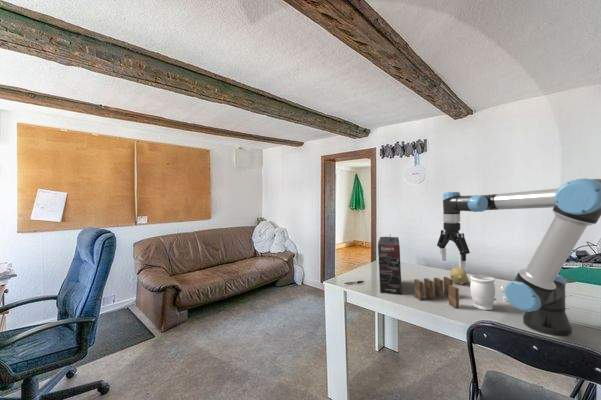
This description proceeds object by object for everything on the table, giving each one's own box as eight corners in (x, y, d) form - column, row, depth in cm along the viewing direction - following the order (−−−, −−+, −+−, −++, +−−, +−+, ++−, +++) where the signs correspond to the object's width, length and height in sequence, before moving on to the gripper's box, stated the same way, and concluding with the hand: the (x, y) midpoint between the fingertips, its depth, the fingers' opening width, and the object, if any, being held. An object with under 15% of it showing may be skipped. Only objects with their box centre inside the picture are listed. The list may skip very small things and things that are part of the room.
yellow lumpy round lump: (468, 290, 167) (474, 277, 171) (462, 279, 162) (468, 265, 166) (451, 286, 175) (457, 273, 179) (445, 275, 170) (452, 262, 174)
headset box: (401, 295, 154) (400, 237, 154) (378, 293, 158) (377, 237, 158) (400, 281, 177) (399, 232, 177) (380, 280, 182) (379, 231, 181)
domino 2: (427, 295, 152) (427, 278, 151) (433, 299, 147) (432, 281, 146) (424, 296, 151) (424, 278, 151) (430, 299, 146) (429, 281, 146)
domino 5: (451, 304, 139) (451, 285, 139) (459, 308, 135) (458, 288, 134) (448, 304, 139) (448, 285, 139) (455, 308, 134) (455, 288, 134)
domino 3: (437, 295, 152) (436, 277, 152) (443, 298, 148) (442, 280, 147) (434, 295, 152) (433, 277, 152) (440, 298, 147) (439, 280, 147)
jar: (472, 301, 142) (471, 273, 142) (496, 305, 136) (495, 276, 135) (469, 308, 134) (468, 278, 134) (494, 313, 127) (494, 281, 127)
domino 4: (446, 294, 153) (446, 276, 153) (453, 297, 148) (452, 279, 148) (444, 294, 153) (443, 276, 153) (450, 297, 148) (449, 279, 148)
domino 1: (417, 296, 151) (417, 279, 150) (423, 300, 146) (422, 281, 146) (414, 297, 150) (414, 279, 150) (420, 300, 145) (419, 282, 145)
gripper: (478, 224, 125) (478, 270, 125) (441, 219, 149) (442, 257, 150) (463, 225, 123) (464, 271, 124) (429, 220, 148) (430, 258, 149)
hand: (452, 263), depth 137 cm, fingers open, 13 cm apart
